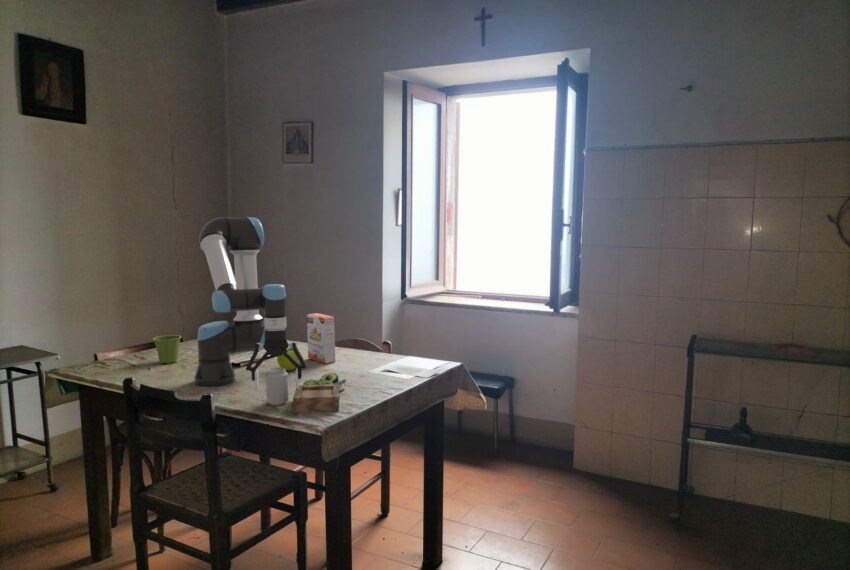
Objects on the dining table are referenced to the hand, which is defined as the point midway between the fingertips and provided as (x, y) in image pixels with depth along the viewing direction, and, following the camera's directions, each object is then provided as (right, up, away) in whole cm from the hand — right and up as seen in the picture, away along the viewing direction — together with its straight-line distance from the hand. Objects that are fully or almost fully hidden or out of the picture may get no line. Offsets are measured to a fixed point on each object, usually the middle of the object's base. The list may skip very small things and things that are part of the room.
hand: (277, 389), depth 209 cm
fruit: (-7, 0, +46) cm, 47 cm away
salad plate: (+13, -3, +19) cm, 24 cm away
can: (0, -5, +1) cm, 5 cm away
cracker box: (+5, +2, +62) cm, 63 cm away
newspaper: (-25, +2, +67) cm, 71 cm away
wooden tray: (+14, -5, -1) cm, 15 cm away
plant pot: (-64, +2, +59) cm, 87 cm away
